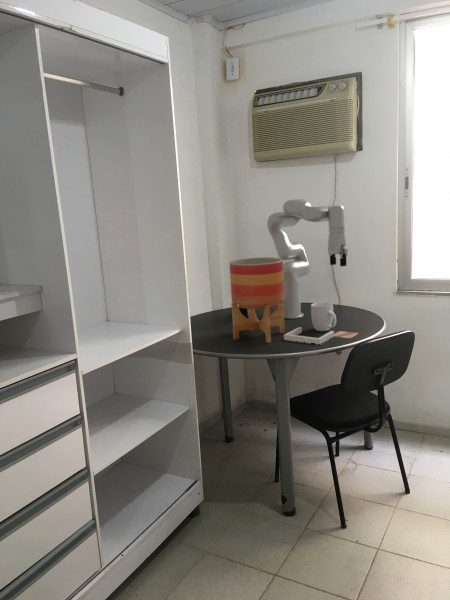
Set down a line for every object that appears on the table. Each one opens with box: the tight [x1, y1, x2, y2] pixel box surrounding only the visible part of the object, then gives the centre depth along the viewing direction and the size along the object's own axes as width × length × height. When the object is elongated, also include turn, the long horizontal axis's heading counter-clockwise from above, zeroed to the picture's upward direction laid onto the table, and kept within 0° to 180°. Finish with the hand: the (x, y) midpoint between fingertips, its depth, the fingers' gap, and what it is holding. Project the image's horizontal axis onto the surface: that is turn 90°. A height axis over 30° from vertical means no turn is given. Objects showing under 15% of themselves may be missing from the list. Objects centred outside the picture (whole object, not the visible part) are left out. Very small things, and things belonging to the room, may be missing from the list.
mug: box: [310, 302, 337, 332], centre depth 248 cm, size 15×11×13 cm
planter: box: [229, 256, 286, 344], centre depth 243 cm, size 27×27×38 cm
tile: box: [333, 330, 360, 339], centre depth 240 cm, size 10×10×1 cm
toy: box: [238, 306, 256, 319], centre depth 294 cm, size 12×7×30 cm
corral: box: [283, 326, 335, 345], centre depth 237 cm, size 19×16×2 cm
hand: (338, 265), depth 247 cm, fingers open, 9 cm apart
